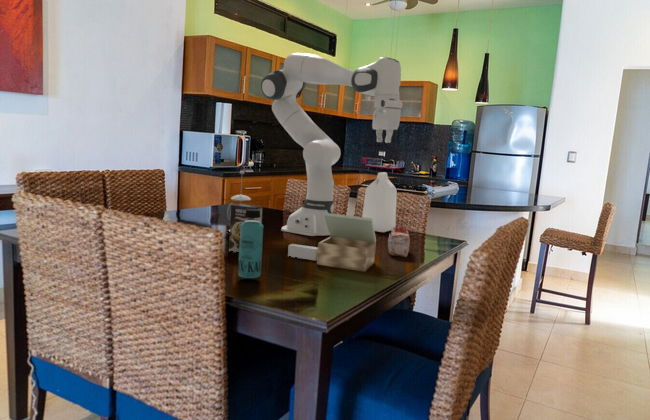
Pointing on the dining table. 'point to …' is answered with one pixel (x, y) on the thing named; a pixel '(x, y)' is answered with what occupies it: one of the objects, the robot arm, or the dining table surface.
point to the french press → (239, 197)
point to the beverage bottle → (250, 246)
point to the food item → (399, 242)
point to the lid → (350, 227)
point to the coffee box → (239, 223)
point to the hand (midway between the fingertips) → (383, 142)
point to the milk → (381, 203)
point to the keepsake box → (346, 253)
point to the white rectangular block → (303, 251)
